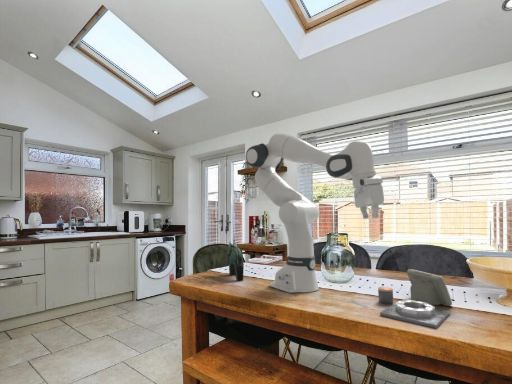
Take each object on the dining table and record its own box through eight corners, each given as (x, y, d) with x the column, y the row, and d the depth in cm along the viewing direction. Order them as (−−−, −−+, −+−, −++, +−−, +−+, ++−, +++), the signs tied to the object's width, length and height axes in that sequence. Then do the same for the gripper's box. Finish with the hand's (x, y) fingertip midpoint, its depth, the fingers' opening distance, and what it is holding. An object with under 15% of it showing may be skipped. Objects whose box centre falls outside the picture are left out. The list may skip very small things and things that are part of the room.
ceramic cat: (226, 274, 165) (226, 238, 166) (238, 273, 167) (237, 237, 168) (234, 282, 146) (234, 241, 147) (247, 280, 148) (246, 240, 149)
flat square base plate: (380, 315, 96) (379, 306, 96) (398, 303, 107) (397, 295, 107) (436, 328, 84) (435, 317, 85) (449, 313, 96) (449, 304, 96)
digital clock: (455, 307, 102) (453, 276, 103) (430, 308, 101) (428, 277, 102) (426, 294, 118) (424, 267, 119) (404, 295, 118) (402, 268, 118)
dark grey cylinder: (376, 302, 109) (375, 288, 109) (382, 299, 113) (381, 286, 113) (390, 305, 106) (389, 291, 106) (395, 302, 109) (394, 288, 109)
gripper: (348, 186, 123) (353, 219, 122) (366, 179, 103) (372, 218, 101) (363, 184, 123) (368, 217, 122) (384, 177, 103) (390, 216, 101)
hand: (370, 218), depth 111 cm, fingers open, 8 cm apart
